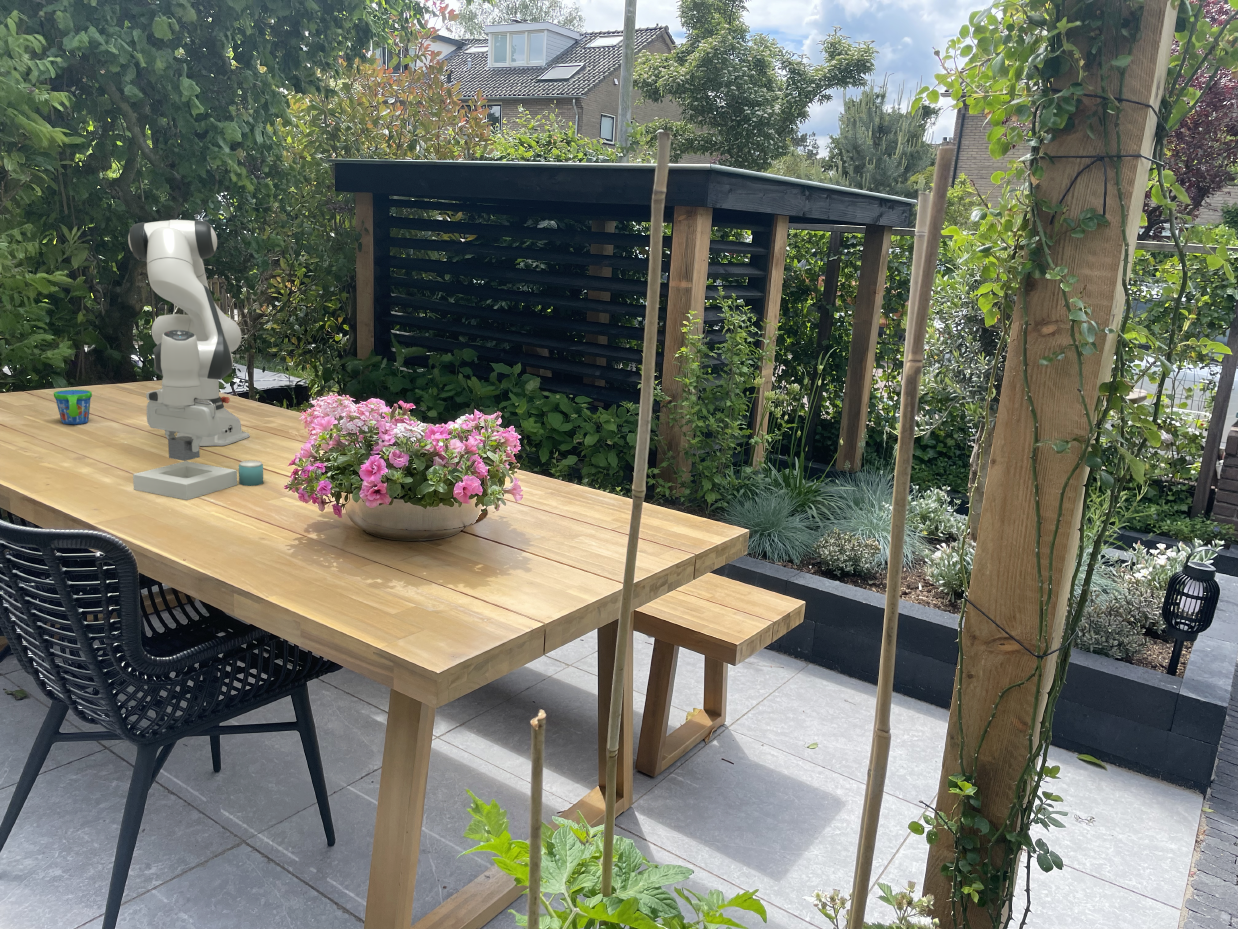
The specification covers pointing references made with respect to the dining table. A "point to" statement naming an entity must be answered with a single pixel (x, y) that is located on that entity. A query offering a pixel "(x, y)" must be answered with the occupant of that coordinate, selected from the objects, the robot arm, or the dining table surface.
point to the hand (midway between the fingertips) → (184, 449)
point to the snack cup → (73, 405)
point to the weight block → (181, 448)
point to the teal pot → (250, 473)
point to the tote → (185, 480)
